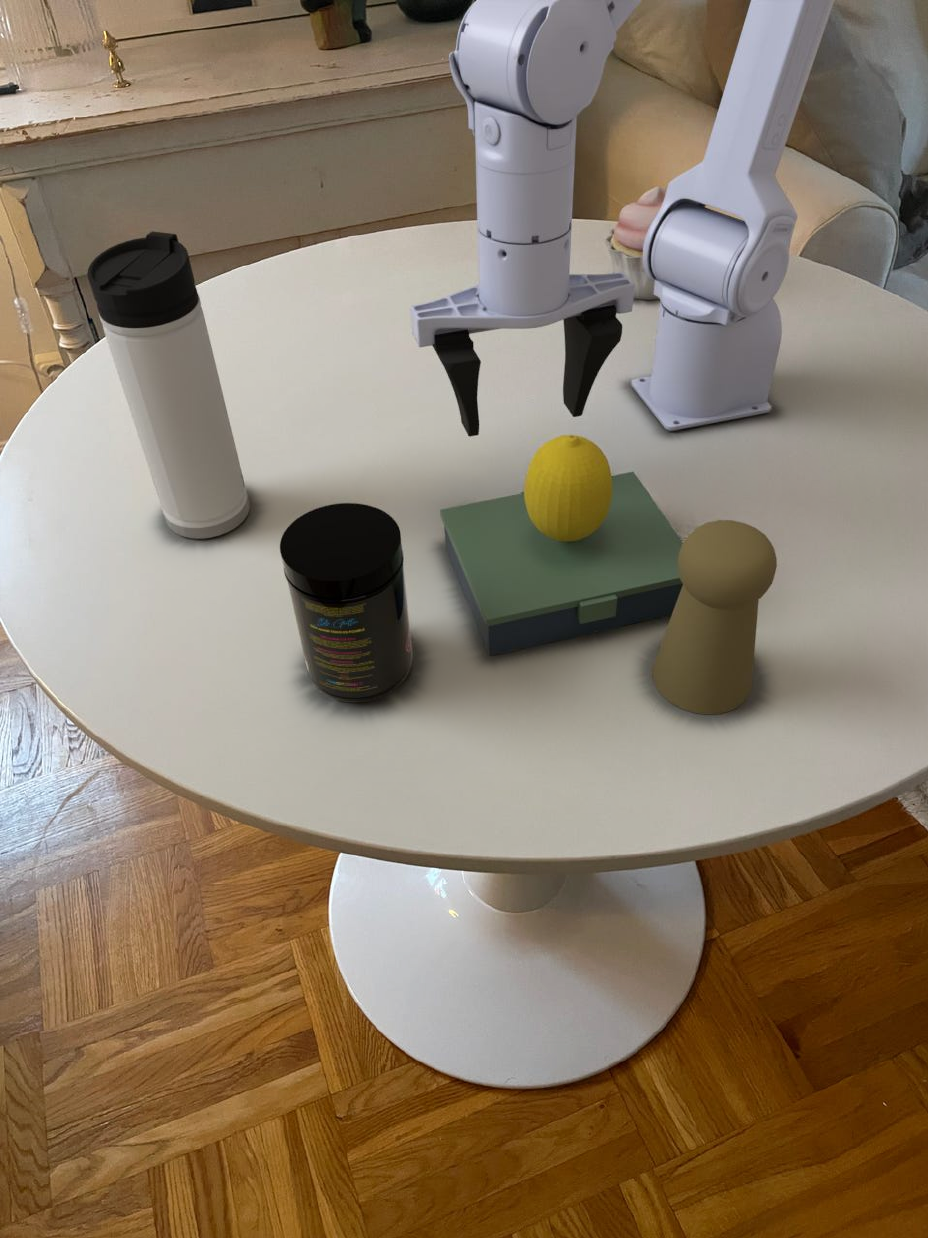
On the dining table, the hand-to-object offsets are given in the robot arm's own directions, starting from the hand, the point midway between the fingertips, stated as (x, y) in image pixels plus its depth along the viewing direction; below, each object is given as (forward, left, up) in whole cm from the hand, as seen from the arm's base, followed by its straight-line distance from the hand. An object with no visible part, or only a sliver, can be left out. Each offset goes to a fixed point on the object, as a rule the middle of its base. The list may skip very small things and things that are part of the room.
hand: (521, 418), depth 66 cm
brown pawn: (-5, +21, -7) cm, 22 cm away
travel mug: (+23, -5, -7) cm, 25 cm away
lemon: (0, +10, -4) cm, 10 cm away
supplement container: (+15, +14, -7) cm, 21 cm away
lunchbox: (0, +10, -7) cm, 12 cm away
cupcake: (-23, -29, -7) cm, 38 cm away
